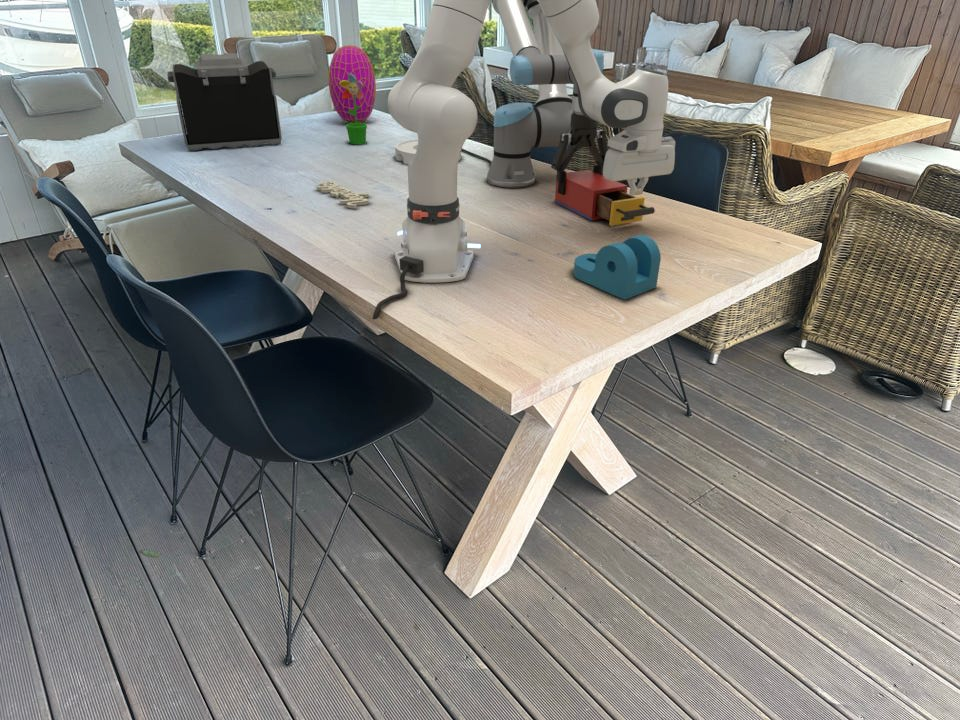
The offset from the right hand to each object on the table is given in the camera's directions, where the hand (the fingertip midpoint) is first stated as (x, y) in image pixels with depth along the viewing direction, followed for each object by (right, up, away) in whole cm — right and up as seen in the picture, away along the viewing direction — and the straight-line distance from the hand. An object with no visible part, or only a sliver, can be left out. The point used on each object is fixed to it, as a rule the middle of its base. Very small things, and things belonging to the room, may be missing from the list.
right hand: (578, 191), depth 199 cm
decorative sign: (-69, 0, +6) cm, 69 cm away
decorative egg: (-82, +52, +94) cm, 135 cm away
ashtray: (-47, +23, +45) cm, 69 cm away
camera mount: (0, -31, -46) cm, 56 cm away
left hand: (+12, -6, -23) cm, 26 cm away
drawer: (+8, -10, -12) cm, 17 cm away
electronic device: (-122, +34, +62) cm, 141 cm away
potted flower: (-75, +34, +63) cm, 103 cm away
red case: (+3, -6, -2) cm, 7 cm away
